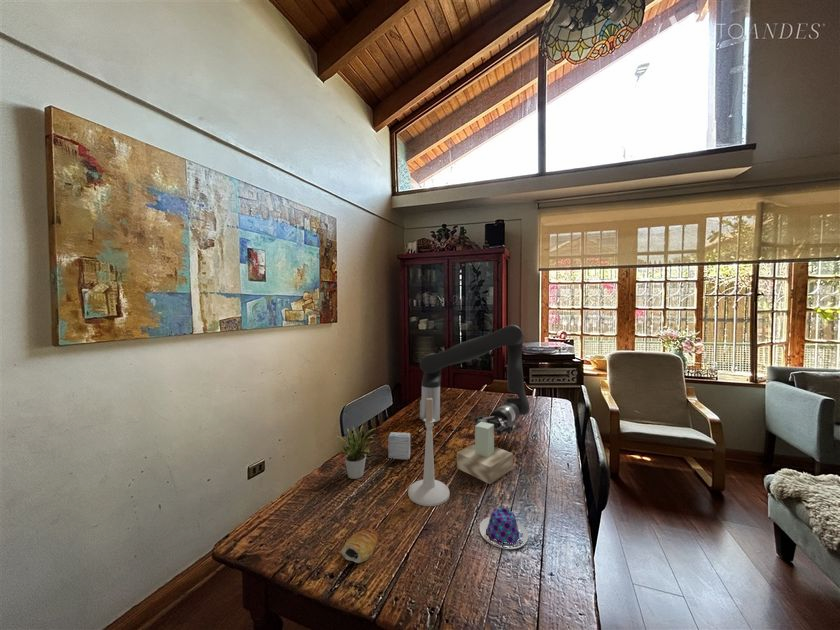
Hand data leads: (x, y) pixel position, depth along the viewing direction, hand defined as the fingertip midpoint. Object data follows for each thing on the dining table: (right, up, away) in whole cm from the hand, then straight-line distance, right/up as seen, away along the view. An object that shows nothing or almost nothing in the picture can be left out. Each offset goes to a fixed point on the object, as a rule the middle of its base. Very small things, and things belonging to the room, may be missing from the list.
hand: (486, 429), depth 114 cm
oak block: (-1, -14, -1) cm, 14 cm away
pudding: (-2, -15, -32) cm, 36 cm away
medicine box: (-32, -13, +8) cm, 35 cm away
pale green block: (-1, -8, -1) cm, 8 cm away
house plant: (-44, -14, -5) cm, 47 cm away
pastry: (-38, -15, -38) cm, 56 cm away
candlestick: (-21, -14, -16) cm, 30 cm away
